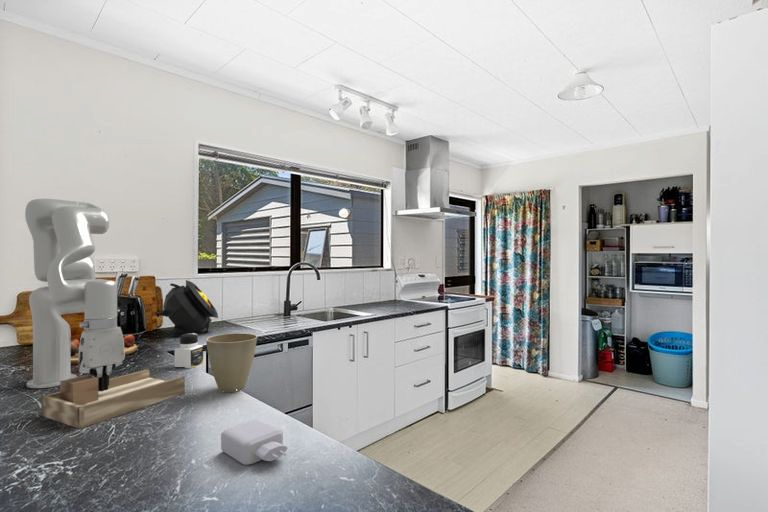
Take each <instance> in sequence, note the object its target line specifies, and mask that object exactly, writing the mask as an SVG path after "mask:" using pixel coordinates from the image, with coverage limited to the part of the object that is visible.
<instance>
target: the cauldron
mask: <svg viewBox="0 0 768 512" xmlns="http://www.w3.org/2000/svg"><path fill="white" fill-rule="evenodd" d="M169 286H171V287H172V288H171V289H170V290H169V291H168V293H167V294H166V295H165V298H164V303H163V310H161V311H156V312H154V313H155V316H156V317H157V318H159V317H160V316H163V317H166V318H168V320H170V321H171V322H172V324H173V325H174V327H173V332H171V335H172V336H173V337H174V338H177V334H178V333H179V332H180V331H182V332H185V333H186V332H188V333H189V332H190V333H191V332H192V333H195V332H196V333H197V332H200V331H202V330H205V333H208V331H209V328H210V324H211V323H212V319H211V318H215V319H219V314H218V311H217V309H216V308H215V306H214V305H213V304H212V302H211V301H210V299H209V298H208V297H207V295H206V294H205V293H204V292H203V291H202V290H201V289H200V288H199V287H198V286H197V285H196V284H195V283H193V282H192V281H190V280H187V279H186V280H185V285H181V286H180V285H178V284H175V283H170V284H169Z"/></svg>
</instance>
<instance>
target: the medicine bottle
mask: <svg viewBox="0 0 768 512" xmlns="http://www.w3.org/2000/svg"><path fill="white" fill-rule="evenodd" d="M198 341H199V335H198V333H195V332H192V333H191V332H190V333H189V332H188V333H184V334H182V335H180V337H179V343H180V344H179V346H178V347H176V348H174V368H175V367H185V368H184V369H193V367H194V368H195V367H198V366H200V365H203V364H204V346H203V345H201V344H200V345H199V342H198Z"/></svg>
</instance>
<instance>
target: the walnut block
mask: <svg viewBox="0 0 768 512" xmlns="http://www.w3.org/2000/svg"><path fill="white" fill-rule="evenodd" d="M59 386H60V391H59V392H60V399H61V400H64V401H67V402H71V403H74V404H78V405H83V404H87V403H90V402H93V401H97V400H98V378H97V377H94V376H92V375H87V374H84V375H81V376H76V377H75V378H71V379H67V380H63V381H60V385H59Z"/></svg>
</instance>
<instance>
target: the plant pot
mask: <svg viewBox="0 0 768 512" xmlns="http://www.w3.org/2000/svg"><path fill="white" fill-rule="evenodd" d="M205 340H206V341H205V342H206V350H207V355H208V360H209V365H210V368H211V372H212V375H213V378H214V382H215V383H216V386H217V389H218V391H219V390H220V391H219V392H221V391H224V392H223V393H234V391H236V389H237V390H238V391H236V392H239V391H241V390H243V389H244V388H245V386H246V383H247V381H248V378H249V376H250V373H251V368H252V366H253V363H254V357H255V355H256V354H255V353H256V349H257V341H258V335H256V334H252V333H245V332H244V333H243V332H242V333H241V332H240V333H239V332H235V333H222V334H216V335H211V336H209V337H207V338H206V339H205Z"/></svg>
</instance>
